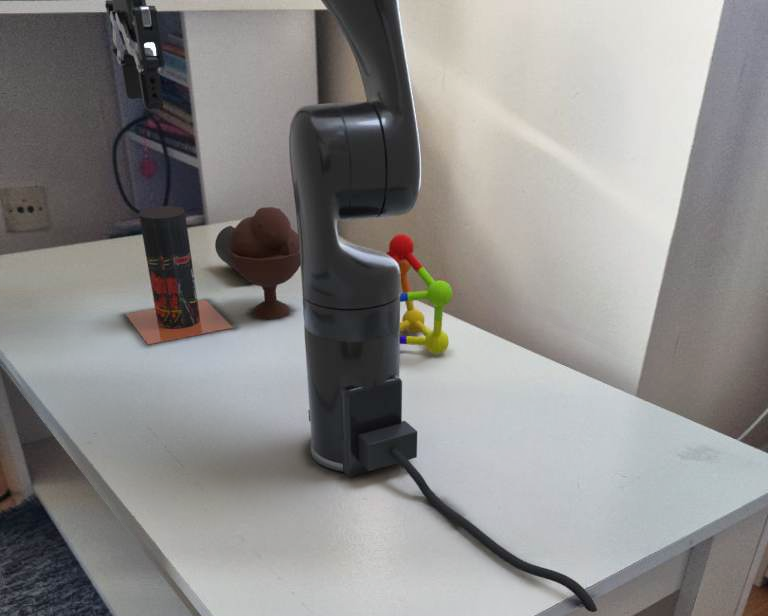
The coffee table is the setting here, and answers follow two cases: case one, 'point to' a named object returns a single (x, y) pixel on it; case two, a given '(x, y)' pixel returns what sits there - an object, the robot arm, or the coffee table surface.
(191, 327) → the tile
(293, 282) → the coffee table surface
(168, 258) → the deodorant
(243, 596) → the coffee table surface
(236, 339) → the coffee table surface
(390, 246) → the educational toy
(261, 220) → the ice cream bowl
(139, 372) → the coffee table surface
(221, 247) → the end cap
